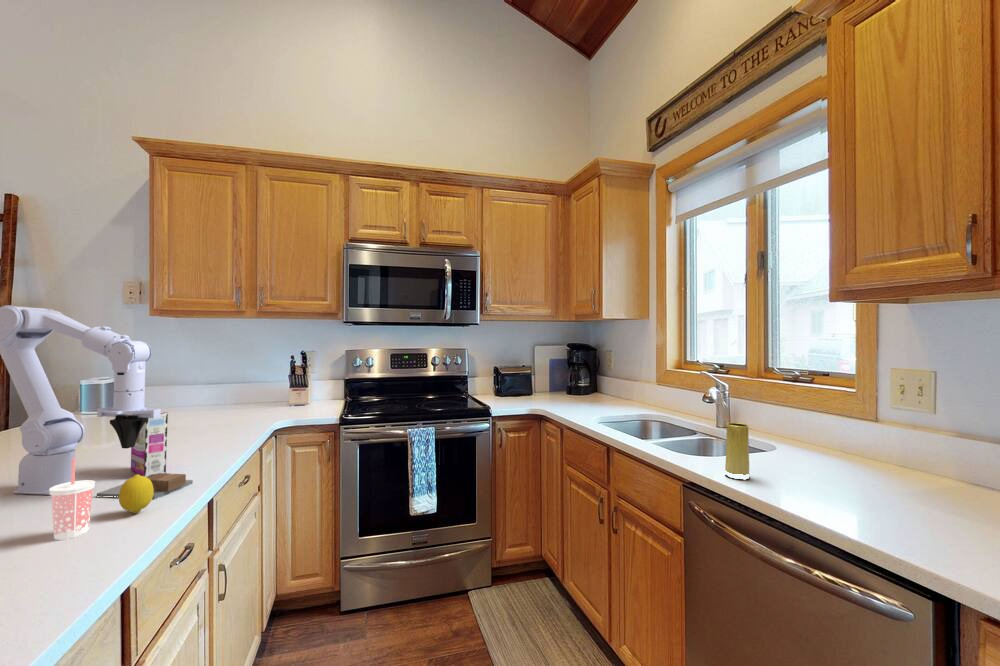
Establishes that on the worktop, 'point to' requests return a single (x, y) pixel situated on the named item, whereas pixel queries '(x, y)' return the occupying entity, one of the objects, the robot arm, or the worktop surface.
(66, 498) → the beverage cup
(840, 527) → the worktop surface
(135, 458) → the candy bar box
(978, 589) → the worktop surface
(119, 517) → the worktop surface
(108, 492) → the grey flat rectangular plate
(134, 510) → the lemon
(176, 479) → the walnut slab
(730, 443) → the vase
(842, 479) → the worktop surface
